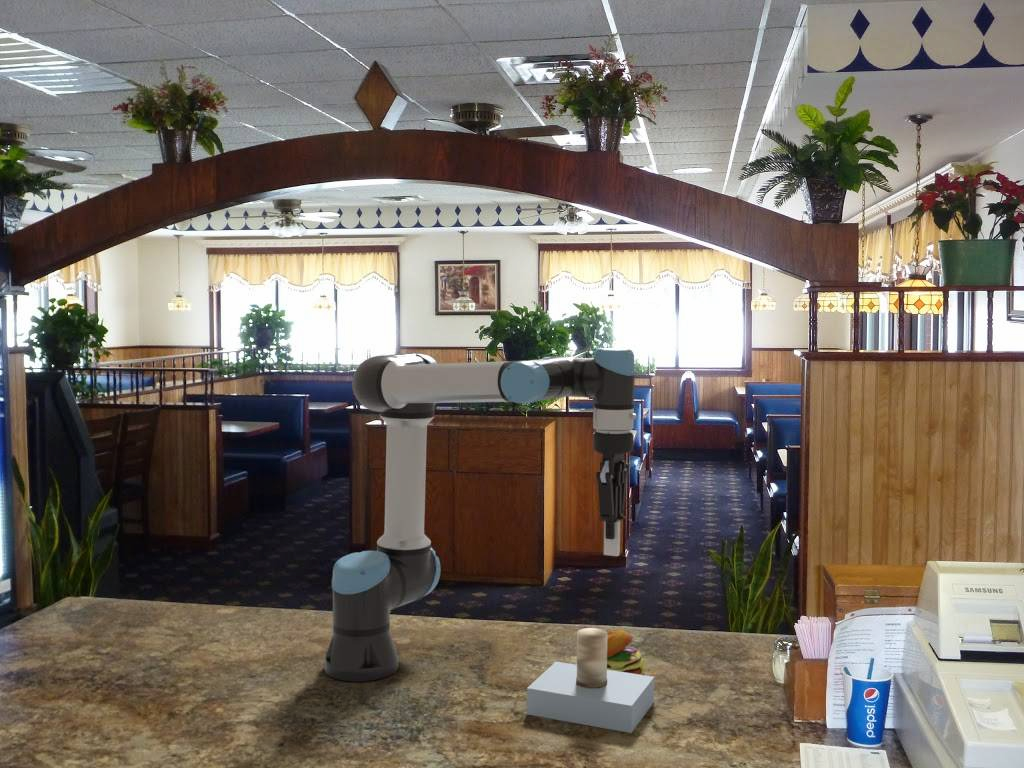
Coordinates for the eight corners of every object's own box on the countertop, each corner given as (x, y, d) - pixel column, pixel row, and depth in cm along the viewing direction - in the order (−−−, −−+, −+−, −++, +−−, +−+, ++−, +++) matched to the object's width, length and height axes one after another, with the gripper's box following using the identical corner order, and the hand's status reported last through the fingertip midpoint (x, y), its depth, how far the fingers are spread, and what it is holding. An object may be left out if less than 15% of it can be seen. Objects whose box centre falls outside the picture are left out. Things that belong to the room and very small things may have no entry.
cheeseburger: (645, 684, 201) (633, 636, 201) (593, 692, 203) (582, 644, 203) (648, 665, 211) (637, 619, 210) (599, 673, 213) (588, 628, 213)
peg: (571, 708, 188) (572, 635, 186) (581, 697, 193) (582, 626, 192) (601, 714, 185) (602, 639, 184) (610, 702, 191) (611, 630, 189)
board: (526, 714, 186) (527, 688, 186) (555, 686, 200) (555, 661, 200) (631, 733, 178) (631, 705, 178) (653, 702, 192) (654, 676, 192)
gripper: (622, 436, 181) (620, 565, 183) (642, 427, 193) (640, 548, 195) (583, 433, 184) (581, 560, 186) (605, 425, 196) (603, 545, 198)
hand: (611, 554), depth 191 cm, fingers closed
